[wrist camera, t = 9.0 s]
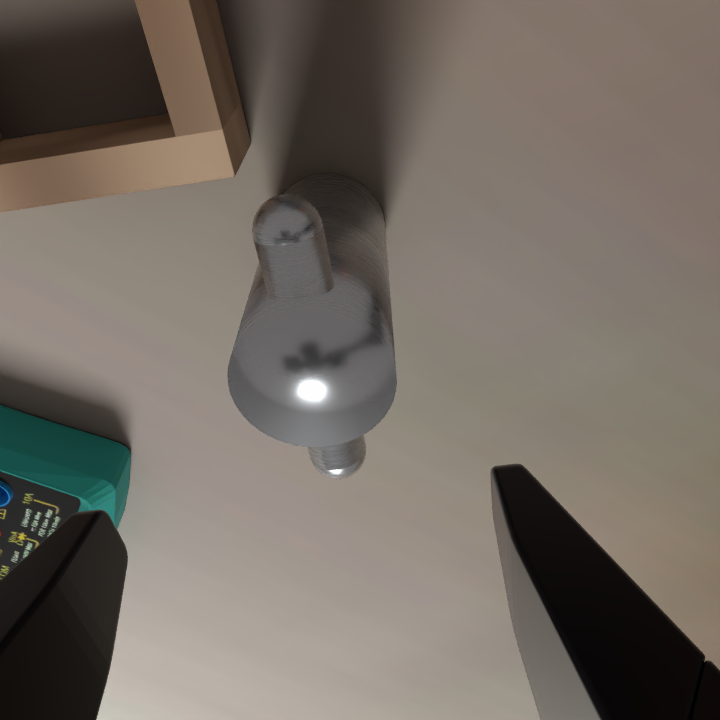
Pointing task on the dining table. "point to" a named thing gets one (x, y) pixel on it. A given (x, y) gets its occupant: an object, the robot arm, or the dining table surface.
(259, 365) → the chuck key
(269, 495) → the dining table surface
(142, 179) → the key socket
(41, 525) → the digital multimeter
